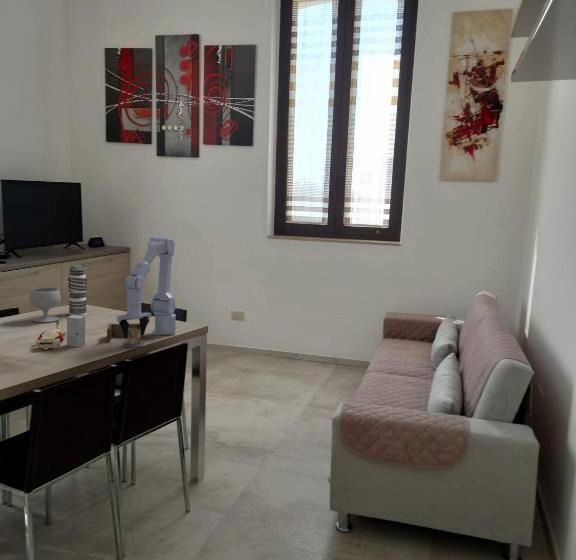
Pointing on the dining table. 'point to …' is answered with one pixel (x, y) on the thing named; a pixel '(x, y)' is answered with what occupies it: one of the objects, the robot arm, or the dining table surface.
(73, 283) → the decorative candle
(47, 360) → the dining table surface
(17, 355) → the dining table surface
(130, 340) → the oak block
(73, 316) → the skincare box
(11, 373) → the dining table surface
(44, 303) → the chalice
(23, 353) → the dining table surface
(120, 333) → the brown wooden arch
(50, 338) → the cat figure
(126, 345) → the mat
